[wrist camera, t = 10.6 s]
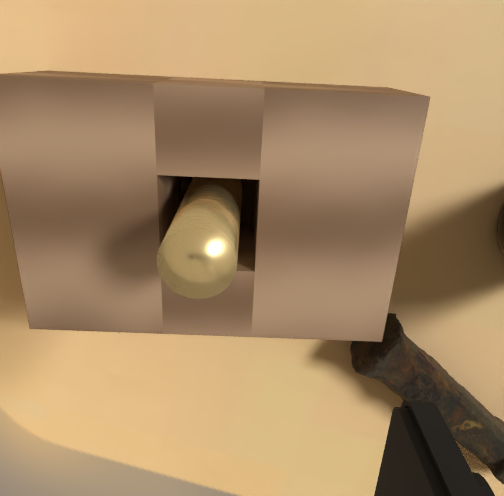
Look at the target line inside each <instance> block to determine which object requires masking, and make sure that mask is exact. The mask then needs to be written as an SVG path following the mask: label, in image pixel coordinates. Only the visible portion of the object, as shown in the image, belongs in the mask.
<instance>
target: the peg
mask: <svg viewBox="0 0 504 496" xmlns="http://www.w3.org/2000/svg"><path fill="white" fill-rule="evenodd" d="M241 199H242V185H241V181H240V179H234V178H211V177H193V179H192V181H191V183H190V185H189V187H188V189H187V191H186V194H185V196H184V198H183V200H182V202H181V204H180V206H179V208H178V210H177V212H176V214H175V216H174V219H173V221H172V223H171V225H170V227H169V229H168V231H167V233H166V235H165V237H164V239H163V241H162V244H161V246H160V248H159V250H158V254H157V268H158V272H159V274H160V277H161V278H162V280H163V281H164V283H165V284H166V285H167V286H168V287H169V288H170V289H171V290H173V291H174V292H176V293H177V294H180V295H182V296H184V297H188V298H193V299H204V298H210V297H213V296H215V295H218V294H219V293H221V292H223V291H224V290H225V289H226V288H227V287H228V286H229V285H230V284H231V282H232V281H233V279H234V277H235V274H236V270H237V258H238V243H239V229H240V214H241Z"/></svg>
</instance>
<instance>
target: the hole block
mask: <svg viewBox="0 0 504 496" xmlns="http://www.w3.org/2000/svg"><path fill="white" fill-rule="evenodd" d="M429 101H430V97H429V96H424V95H420V94H415V93H410V92H406V91H401V90H397V89H392V88H387V87H367V86H346V85H326V84H305V83H285V82H265V81H244V80H224V79H203V78H183V77H162V76H142V75H122V74H101V73H81V72H60V71H37V72H22V73H7V74H0V170H1V175H2V181H3V186H4V192H5V197H6V202H7V208H8V213H9V219H10V224H11V229H12V235H13V240H14V245H15V251H16V256H17V262H18V267H19V272H20V278H21V283H22V289H23V294H24V299H25V305H26V310H27V316H28V321H29V326H30V329H49V330H76V331H103V332H130V333H157V334H185V335H212V336H239V337H266V338H293V339H320V340H347V341H374V342H382V339H383V334H384V329H385V324H386V319H387V314H388V309H389V304H390V298H391V293H392V288H393V283H394V278H395V273H396V268H397V263H398V258H399V253H400V248H401V243H402V238H403V233H404V228H405V223H406V217H407V212H408V207H409V202H410V197H411V192H412V187H413V182H414V177H415V172H416V167H417V162H418V157H419V152H420V147H421V142H422V137H423V131H424V126H425V121H426V116H427V111H428V106H429ZM178 176H189V177H211V178H234V179H256V198H255V217H254V227H241V226H240V229H239V243H238V258H237V270H236V274H235V277H234V279H233V281H232V282H231V284H230V285H229V286H228V287H227V288H226V289H225V290H224V291H223V292H221V293H219V294H218V295H215V296H213V297H210V298H204V299H193V298H188V297H184V296H182V295H180V294H177V293H176V292H174V291H173V290H171V289H170V288H169V287H168V286H167V285H166V284H165V283H164V281H163V280H162V278H161V277H160V274H159V272H158V268H157V254H158V250H159V248H160V246H161V244H162V241H163V239H164V237H165V235H166V233H167V231H168V229H169V227H170V225H171V223H172V221H173V219H174V216H175V214H176V212H177V210H178V208H179V183H178Z"/></svg>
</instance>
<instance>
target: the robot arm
mask: <svg viewBox="0 0 504 496" xmlns="http://www.w3.org/2000/svg"><path fill="white" fill-rule="evenodd" d="M374 496H495V495H494V493H493V491H492V489H491V488H490V486H489V484H488V483H487V481H486V480H485V479H484V477H482V476H481V475H480V474H479V473H474V472H471V470H470V468H469V466H468V464H467V462H466V460H465V458H464V456H463V455H462V453H461V451H460V449H459V447H458V445H457V443H456V441H455V439H454V438H453V436H452V434H451V432H450V430H449V428H448V426H447V424H446V422H445V421H444V419H443V417H442V415H441V413H440V411H439V409H438V407H437V406H436V404H435V403H433V402H432V401H409V400H406V401H403V403H402V405H401V408H400V407H395V408H394V409H393V412H392V417H391V421H390V426H389V430H388V435H387V440H386V444H385V449H384V453H383V458H382V463H381V467H380V472H379V476H378V481H377V486H376V490H375V495H374Z"/></svg>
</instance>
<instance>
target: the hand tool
mask: <svg viewBox="0 0 504 496" xmlns="http://www.w3.org/2000/svg"><path fill="white" fill-rule="evenodd" d="M350 350H351V354H352V365H353V368H354V369H355V371H356V372H357V373H360V374H362V375H365V376H367V377H370V378H376V379H378V380H380V381H381V382H383V383H384V384H385V385H386V386H388V387H389V388H390V389H391V390H392V391H394V392H395V393H397V394H398V395H399V396H400V397H401V398H402V399H403V400H404V401H406V400H409V401H432V402H433V403H435V404H436V406H437V407H438V409H439V411H440V413H441V415H442V417H443V419H444V421H445V422H446V424H447V426H448V428H449V430H450V432H451V434H452V436H453V438H454V439H455V440H456V441H457V442H458V443H459V444H460V445H462V446H463V447H465V448H466V449H467V450H469V451H470V452H471V453H473V454H474V455H475V456H476V457H478V458H479V459H480V460H481V461H482V462H483V463H484V464H486V465H487V466H488V467H489V468H490V470H491V472H492V473H493V475H494V476H495V477H496V479H498V480H499V481H500V482H501V483H502V484H504V422H503V421H502V420H501V419H499V418H497V417H494V416H493V415H492V414H491V413H490V412H489V411H488V410H487V409H486V408H485V407H484V406H483V405H482V404H481V403H480V402H479V401H477V400H476V399H475V398H474V397H473V396H472V395H471V394H470V393H469V392H468V391H467V390H466V389H465V388H464V387H463V386H461V385H460V384H458V383H457V382H456V381H455V380H454V379H453V378H452V377H451V376H450V375H449V374H448V373H447V371H446V370H444V369H443V368H442V367H441V365H440V364H439V363H438V362H437V361H436V360H435V359H433V358H432V357H431V356H429V355H428V354H427V353H426V352H425V351H424V350H422V349H420V348H419V347H418V346H417V345H416V344H414V343H413V342H412V341H411V340H410V339H409V338H408V337H407V336H406V335H405V334H404V331H403V328H402V325H401V324H400V322H399V320H398V319H397V318H396V314H392V313H388V314H387V319H386V324H385V329H384V334H383V339H382V342H374V341H353V342H352V344H351V349H350Z"/></svg>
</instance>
